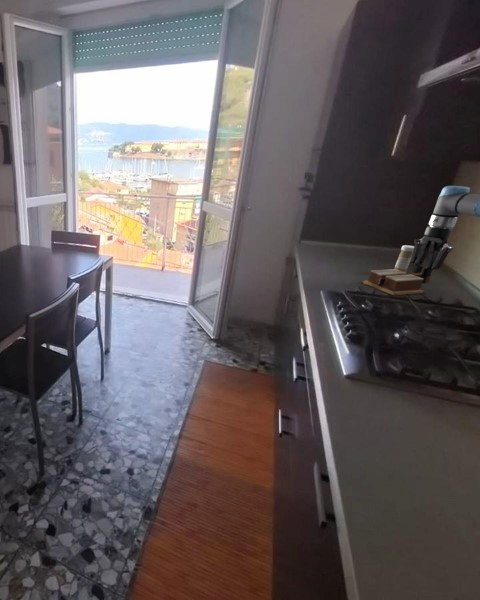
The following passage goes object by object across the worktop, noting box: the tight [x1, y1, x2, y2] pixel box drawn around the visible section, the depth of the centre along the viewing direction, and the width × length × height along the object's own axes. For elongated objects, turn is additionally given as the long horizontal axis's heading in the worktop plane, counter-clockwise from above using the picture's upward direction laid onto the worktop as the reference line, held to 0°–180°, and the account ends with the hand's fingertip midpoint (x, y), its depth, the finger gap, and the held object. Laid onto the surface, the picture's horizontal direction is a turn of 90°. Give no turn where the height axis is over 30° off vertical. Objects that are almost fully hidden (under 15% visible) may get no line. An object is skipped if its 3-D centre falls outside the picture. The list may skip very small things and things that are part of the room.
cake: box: [362, 268, 424, 296], centre depth 148 cm, size 14×14×6 cm
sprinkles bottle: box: [393, 244, 415, 273], centre depth 162 cm, size 5×5×14 cm
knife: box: [378, 272, 433, 285], centre depth 149 cm, size 23×2×4 cm, turn 99°
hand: (417, 281), depth 151 cm, fingers closed on knife, 2 cm apart
